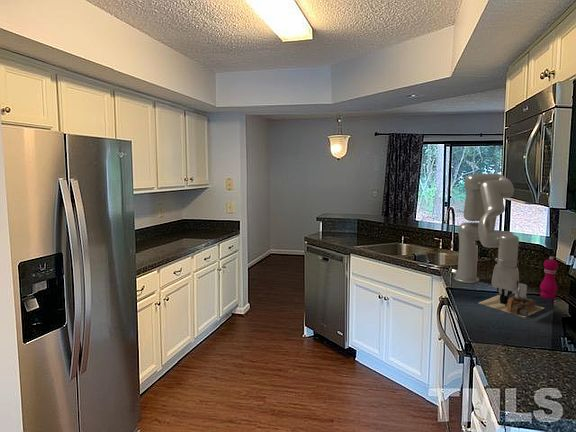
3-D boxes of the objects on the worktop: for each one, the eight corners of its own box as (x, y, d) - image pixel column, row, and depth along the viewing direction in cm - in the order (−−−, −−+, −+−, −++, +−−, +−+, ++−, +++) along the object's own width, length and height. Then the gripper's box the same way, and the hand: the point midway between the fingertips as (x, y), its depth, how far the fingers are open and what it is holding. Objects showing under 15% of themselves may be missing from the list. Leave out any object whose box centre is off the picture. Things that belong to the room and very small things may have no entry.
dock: (477, 305, 200) (478, 296, 199) (498, 297, 211) (499, 288, 210) (524, 320, 183) (525, 310, 183) (544, 310, 194) (545, 300, 193)
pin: (506, 310, 190) (507, 299, 190) (509, 308, 192) (510, 298, 191) (525, 315, 184) (526, 304, 183) (528, 314, 185) (529, 303, 185)
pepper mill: (540, 293, 216) (544, 253, 213) (557, 296, 212) (561, 256, 209) (537, 297, 211) (541, 256, 208) (555, 300, 206) (559, 259, 203)
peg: (512, 305, 196) (513, 284, 194) (517, 303, 199) (519, 282, 197) (522, 308, 193) (524, 287, 191) (527, 306, 195) (529, 285, 194)
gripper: (485, 260, 193) (483, 300, 196) (520, 268, 181) (516, 310, 184) (495, 258, 198) (492, 296, 201) (529, 265, 186) (525, 306, 189)
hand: (503, 303), depth 192 cm, fingers closed
